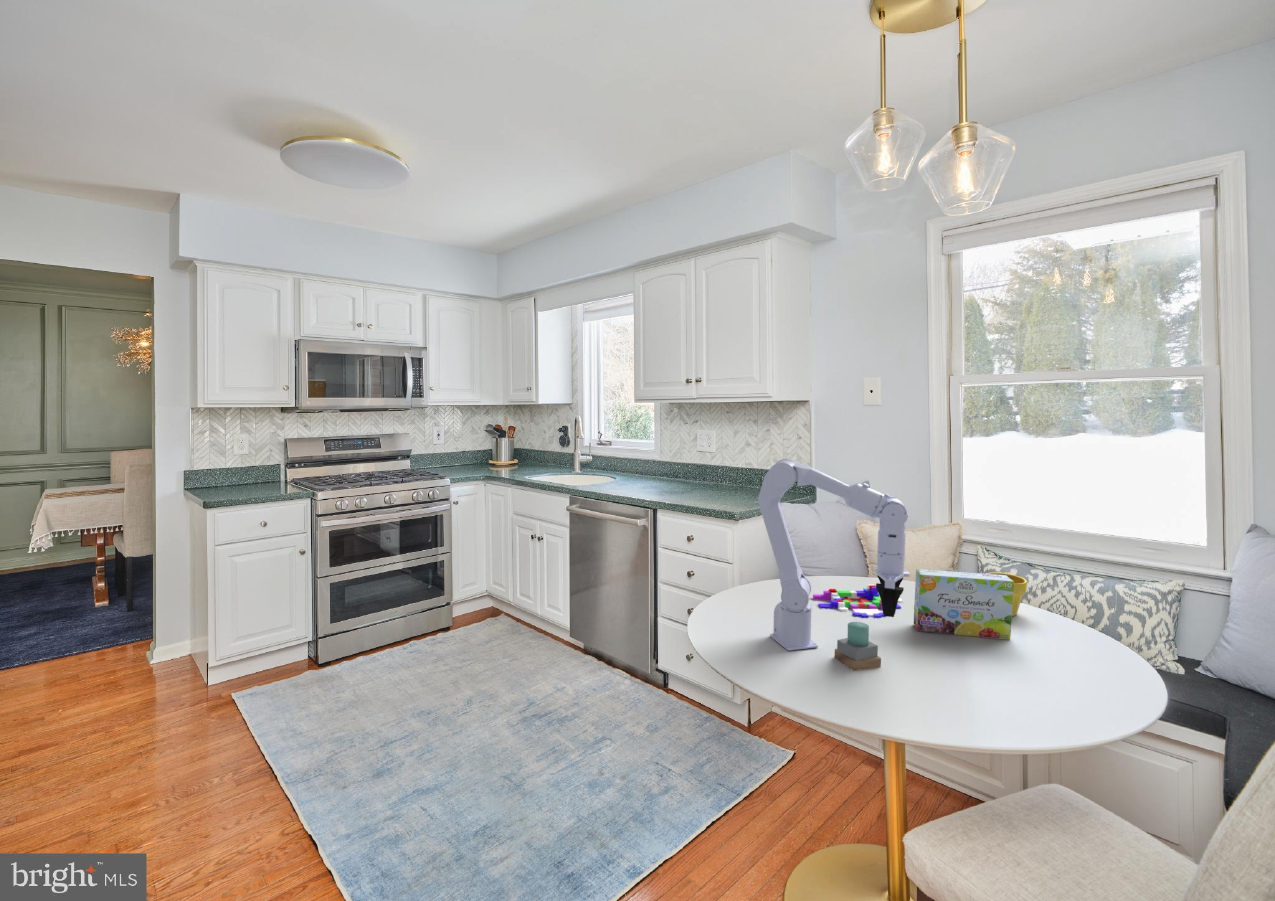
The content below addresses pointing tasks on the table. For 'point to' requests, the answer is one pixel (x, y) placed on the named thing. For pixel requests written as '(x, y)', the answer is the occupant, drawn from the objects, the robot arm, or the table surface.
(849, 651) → the grey top block
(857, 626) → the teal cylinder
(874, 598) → the building block set
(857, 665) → the walnut base block
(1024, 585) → the plant pot
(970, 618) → the snack box
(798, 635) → the robot arm
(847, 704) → the table surface
